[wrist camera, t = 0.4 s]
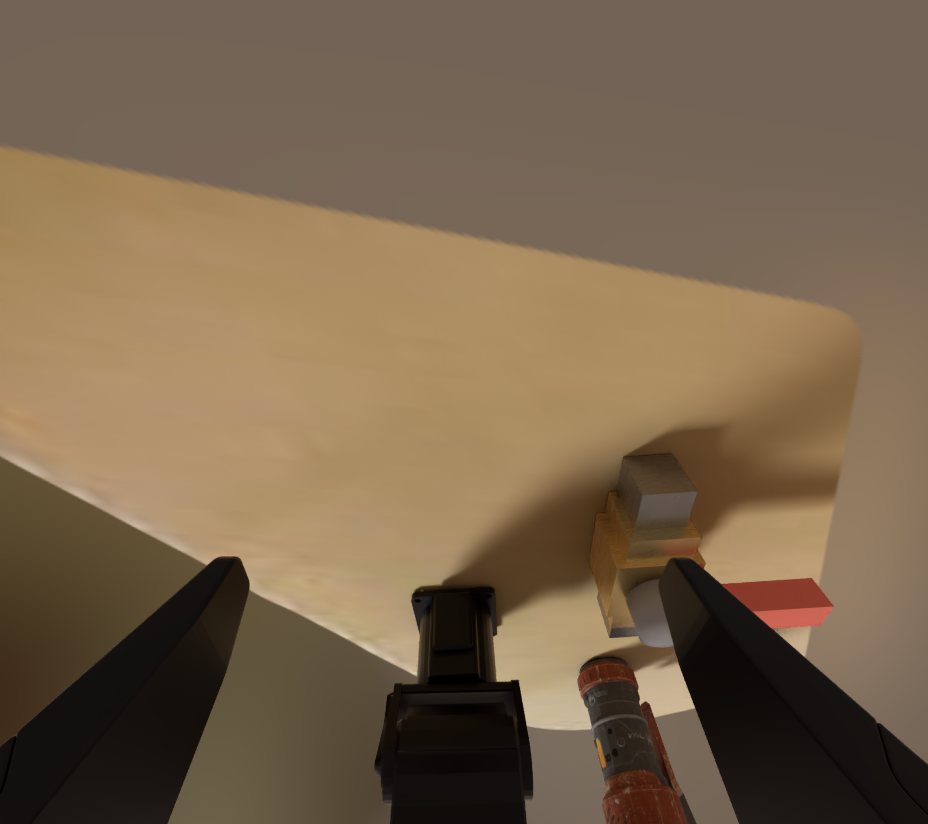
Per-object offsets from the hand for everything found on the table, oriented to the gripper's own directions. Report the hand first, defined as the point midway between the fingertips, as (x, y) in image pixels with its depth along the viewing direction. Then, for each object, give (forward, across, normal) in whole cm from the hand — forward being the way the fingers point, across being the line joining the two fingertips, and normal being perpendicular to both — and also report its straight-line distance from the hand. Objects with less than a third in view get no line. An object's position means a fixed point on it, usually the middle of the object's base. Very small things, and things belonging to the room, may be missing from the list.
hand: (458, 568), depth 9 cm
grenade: (+15, -16, +36) cm, 42 cm away
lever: (+10, -16, +15) cm, 24 cm away
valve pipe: (+14, -13, +16) cm, 25 cm away
